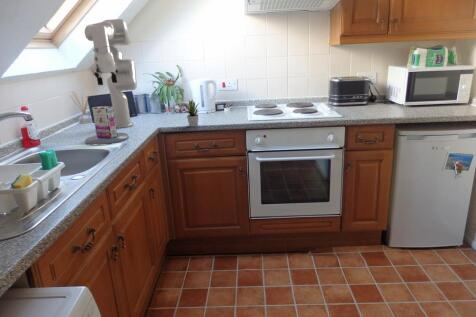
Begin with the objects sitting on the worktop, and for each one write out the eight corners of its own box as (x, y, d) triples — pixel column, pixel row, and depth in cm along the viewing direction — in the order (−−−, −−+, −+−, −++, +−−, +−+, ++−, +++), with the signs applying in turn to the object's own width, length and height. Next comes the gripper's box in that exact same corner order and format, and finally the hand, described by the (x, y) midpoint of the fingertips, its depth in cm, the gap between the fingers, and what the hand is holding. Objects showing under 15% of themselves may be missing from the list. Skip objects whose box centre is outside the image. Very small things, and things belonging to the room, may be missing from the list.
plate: (76, 143, 188) (76, 140, 188) (108, 134, 207) (108, 131, 206) (106, 146, 178) (105, 143, 178) (137, 136, 197) (136, 133, 196)
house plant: (178, 124, 222) (175, 98, 217) (199, 121, 227) (196, 96, 222) (184, 128, 209) (181, 100, 204) (206, 125, 214) (204, 98, 210)
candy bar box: (118, 136, 192) (113, 106, 187) (111, 138, 188) (106, 107, 183) (103, 135, 197) (98, 105, 192) (96, 137, 193) (91, 107, 188)
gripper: (93, 51, 177) (99, 86, 182) (119, 49, 191) (124, 81, 196) (83, 51, 180) (89, 85, 186) (110, 49, 194) (115, 81, 200)
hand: (107, 83), depth 191 cm, fingers open, 9 cm apart
